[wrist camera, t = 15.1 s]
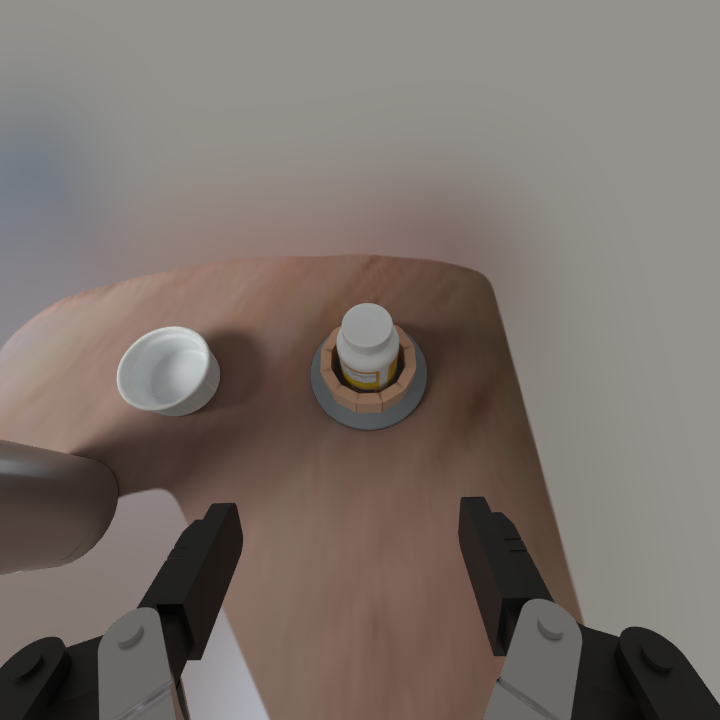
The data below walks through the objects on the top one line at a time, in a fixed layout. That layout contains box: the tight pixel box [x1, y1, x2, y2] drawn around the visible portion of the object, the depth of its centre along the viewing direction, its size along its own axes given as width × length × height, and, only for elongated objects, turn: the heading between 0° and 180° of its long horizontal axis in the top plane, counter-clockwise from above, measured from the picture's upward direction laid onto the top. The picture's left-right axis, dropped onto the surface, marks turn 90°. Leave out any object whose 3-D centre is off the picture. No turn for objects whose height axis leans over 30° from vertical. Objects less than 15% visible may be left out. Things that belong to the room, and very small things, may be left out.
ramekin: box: [117, 326, 220, 417], centre depth 35 cm, size 9×9×4 cm
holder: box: [311, 324, 427, 431], centre depth 35 cm, size 12×12×4 cm
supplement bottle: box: [336, 303, 399, 393], centre depth 31 cm, size 5×5×10 cm
